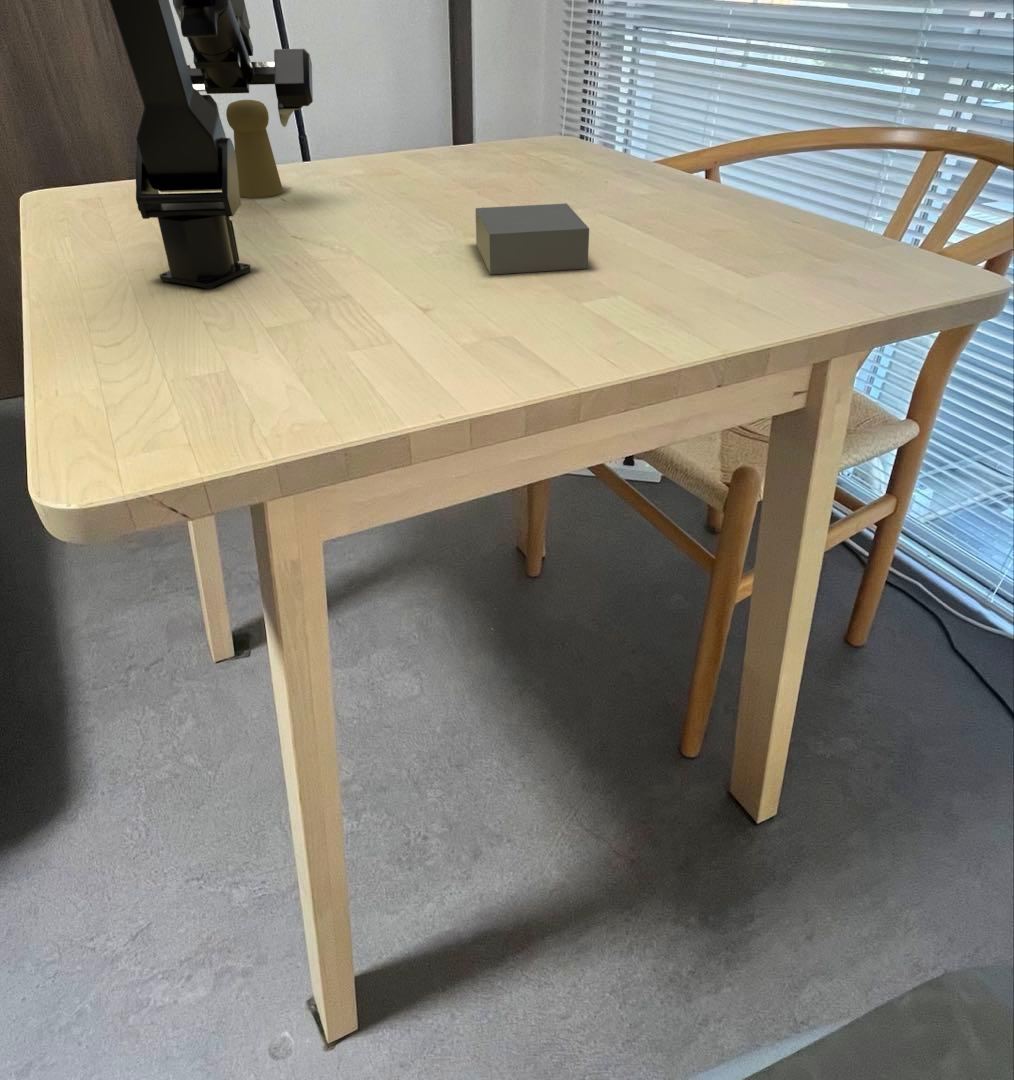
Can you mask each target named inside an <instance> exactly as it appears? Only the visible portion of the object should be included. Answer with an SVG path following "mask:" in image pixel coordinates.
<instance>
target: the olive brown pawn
mask: <svg viewBox="0 0 1014 1080" xmlns="http://www.w3.org/2000/svg"><path fill="white" fill-rule="evenodd" d="M225 116H226V121H227V123H228V126H229V127H230V128H231V129H232V130H233V142H234V143H233V146H234V150H235V155H236V163H237V172H238V181H239V191H240V198H241V197H242V198H246V199H247V198H248V199H262V198H269V197H274V196H278V195H280V194H282V193H283V192H284V189H283V185H282V181H281V178H280V174H279V170H278V166H277V163H276V160H275V156H274V152H273V149H272V145H271V142H270V139H269V135H268V131H267V127H268V125H269V120H270V119H269V118H270V117H269V111H268V108H267V106H266V105H265V104H264V103H263V102H262V101H259V100H255V99H240V100H235V101H232V102H230V103H229V104H228V105H227V108H226V113H225Z"/></svg>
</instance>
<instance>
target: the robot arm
mask: <svg viewBox="0 0 1014 1080" xmlns="http://www.w3.org/2000/svg"><path fill="white" fill-rule="evenodd" d="M108 3H109V6H110V8H111V11H112V15H113V17H114V21H115V23H116V27H117V29H118V32H119V37H120V38H121V41H122V44H123V48H124V50H125V53H126V56H127V60H128V62H129V66H130V68H131V71H132V74H133V75H132V76H133V77H134V80H135V83H136V84H135V85H136V86H137V90H138V93H139V96H140V97H141V98H140V99H141V103H142V104H143V112H142V115H141V119H140V123H139V126H138V131H137V134H136V137H135V138H136V139H135V141H136V155H135V157H134V169H135V170H134V171H135V174H134V175H135V201H136V205H137V209H138V211H139V212H140V215H141V217H142V219H143V220H149V219H152V218H153V219H157V221H158V225H159V230H160V234H161V239H162V243H163V247H164V251H165V255H166V260H167V265H168V269H169V270H168V271H165V272H163V273H160V274H159V276H158V277H159V280H160V281H163V282H169V283H176V284H180V285H187V286H191V287H197V288H202V289H203V288H204V289H212V288H215V287H216V286H218V285H221V284H223V283H225V282H228V281H229V280H232V279H234V278H237V277H239V276H241V275H244V274H245V273H248V272H250V271H251V270H252V266H251V265H250V264H248V263H243V262H242V263H241V262H239V261H240V256H239V250H238V244H237V240H236V235H235V228H234V223H233V220H231V218H230V217H234V216H235V214H236V213H237V211H238V210H239V208H240V206H241V205H242V201H241V196H240V191H239V181H238V172H237V163H236V155H235V147H234V143H233V140H232V139H231V138H230V137H227V135H226V132H225V129H224V127H223V123H222V119H221V116H220V112H219V107H218V103H217V102H216V101H215V99H214V98H213V97H212V95H220V94H221V95H222V94H250V86H251V85H252V86H253V85H255V86H257V85H258V86H259V85H260V86H261V85H274V88H275V96H276V99H277V110H278V117H279V121H280V124H281V126H282V127H283V128H286V127H287V125H288V122H289V120H290V117H291V116H292V114H293V113H294V112H295V111H298V110H302V109H303V107H309V106H310V105H311V104H312V103H313V102H314V98H313V96H314V94H313V64H312V63H313V62H312V59H311V56H310V55H311V54H310V53H309V52H308V50H306V49H305V48H275V49H274V50H273V59H274V60H273V61H251V59H250V57H253V56H254V46H253V42H252V40H251V37H250V29H251V24H250V19H249V16H248V10H247V8H246V3H245V0H172V5H173V8H174V11H175V12H176V13H175V14H176V15H177V17H178V20H179V22H180V30H181V31H180V32H181V36H182V37H183V38H186V39H187V41H188V43H189V46H190V49H191V51H192V53H193V64H194V67H191V65H190V64H188V63H187V60H186V57H185V53H184V49H183V46H182V42H181V38H180V35H179V31H178V29H177V24H176V21H175V17H174V13H173V10H172V5H171V3H170V0H108ZM200 92H205V93H206V94H201V93H200Z"/></svg>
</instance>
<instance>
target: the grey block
mask: <svg viewBox="0 0 1014 1080" xmlns="http://www.w3.org/2000/svg"><path fill="white" fill-rule="evenodd" d="M475 237H476V238H475V241H476V242H475V243H476V244H475V245H476V248H477V250H478V252H479V254H480V256H481V258H482V261H483V263H484V264H485V266H486V268H487V271H488V272H489V274H490V275H507V274H522V273H523V274H524V273H538V272H554V271H573V270H587V269H588V265H589V248H590V247H589V246H590V228H589V226H588V225H587V224H586V223H585V222H584V221H583V220H582V219H581V218H580V216H579V215H578V214H577V213H576V212H575V211H574V210H573V208H572V207H571V206H570V205H569V204H568V203H549V204H529V205H527V204H526V205H509V206H492V207H491V206H490V207H489V206H488V207H476V208H475Z"/></svg>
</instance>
